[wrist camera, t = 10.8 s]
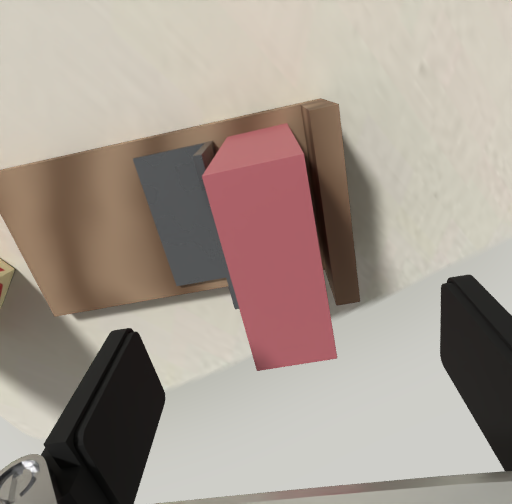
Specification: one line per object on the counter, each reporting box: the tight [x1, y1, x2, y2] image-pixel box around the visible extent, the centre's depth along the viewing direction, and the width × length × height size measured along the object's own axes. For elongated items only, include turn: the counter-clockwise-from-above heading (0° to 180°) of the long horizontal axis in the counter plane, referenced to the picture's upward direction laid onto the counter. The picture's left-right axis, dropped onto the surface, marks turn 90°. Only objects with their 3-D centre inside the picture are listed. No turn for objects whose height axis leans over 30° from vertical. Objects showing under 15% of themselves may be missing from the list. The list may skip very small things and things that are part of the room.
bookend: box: [133, 141, 239, 309], centre depth 24 cm, size 6×10×5 cm, turn 12°
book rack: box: [0, 99, 360, 316], centre depth 25 cm, size 24×12×6 cm, turn 102°
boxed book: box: [202, 123, 337, 371], centre depth 21 cm, size 4×10×11 cm, turn 12°
